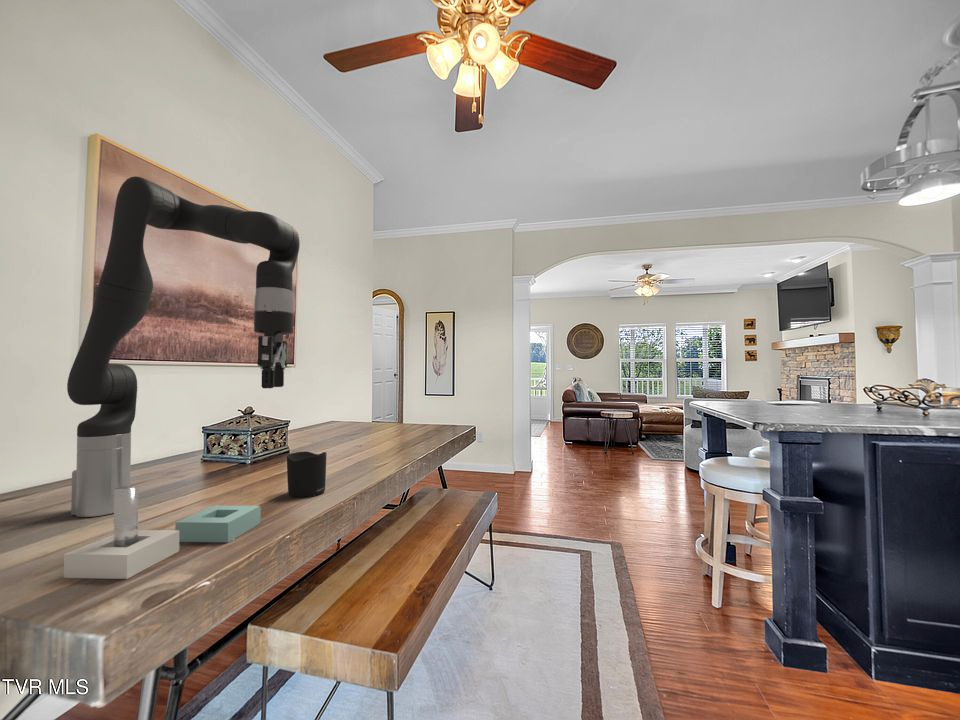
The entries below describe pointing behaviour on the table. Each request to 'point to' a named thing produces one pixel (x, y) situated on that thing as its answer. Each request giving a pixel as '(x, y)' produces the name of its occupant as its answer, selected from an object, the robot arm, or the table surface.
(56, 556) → the table surface
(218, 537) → the block
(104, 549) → the socket block
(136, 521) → the gray rectangular bar
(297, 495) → the pen holder
